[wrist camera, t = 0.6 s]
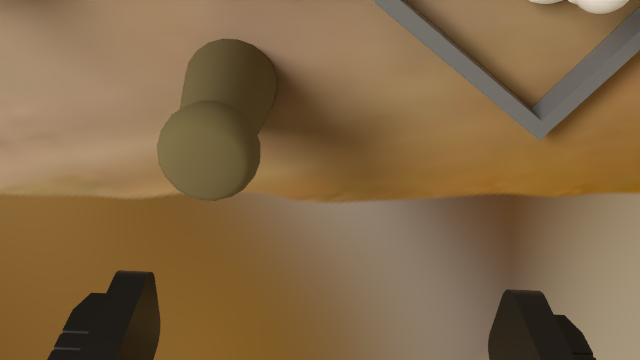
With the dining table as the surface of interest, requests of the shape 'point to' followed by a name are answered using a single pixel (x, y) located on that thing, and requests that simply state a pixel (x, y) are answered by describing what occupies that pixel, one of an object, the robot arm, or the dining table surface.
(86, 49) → the dining table surface
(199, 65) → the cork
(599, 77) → the grey square frame
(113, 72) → the dining table surface
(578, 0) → the chess pawn
